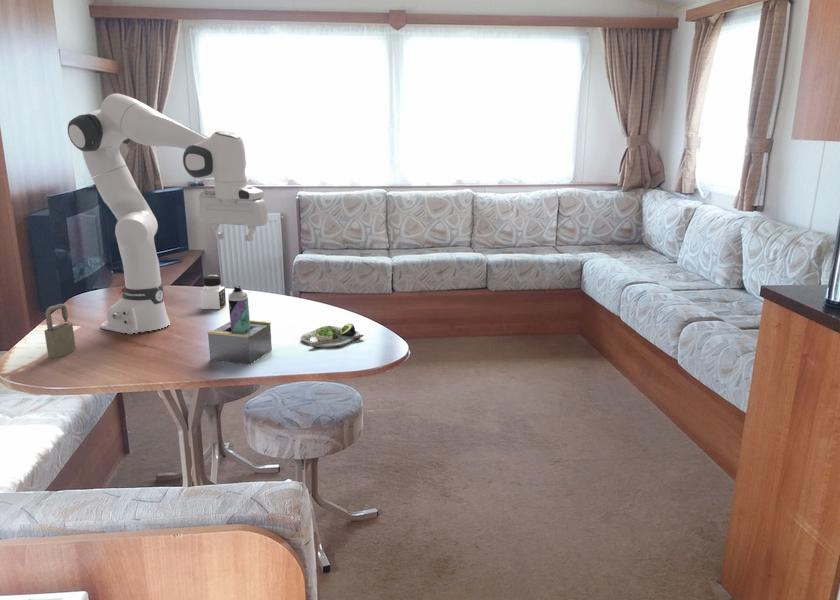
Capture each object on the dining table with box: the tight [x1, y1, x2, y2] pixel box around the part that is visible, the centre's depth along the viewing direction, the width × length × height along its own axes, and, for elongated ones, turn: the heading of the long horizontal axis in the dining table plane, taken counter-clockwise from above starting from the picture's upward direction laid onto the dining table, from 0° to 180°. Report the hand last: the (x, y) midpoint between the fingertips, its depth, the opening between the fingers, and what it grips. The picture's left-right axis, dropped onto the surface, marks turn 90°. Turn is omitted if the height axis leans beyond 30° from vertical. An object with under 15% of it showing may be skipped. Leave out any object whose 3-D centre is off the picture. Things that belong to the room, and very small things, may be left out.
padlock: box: [44, 303, 77, 359], centre depth 198 cm, size 4×8×15 cm, turn 163°
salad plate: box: [300, 323, 365, 348], centre depth 211 cm, size 19×18×5 cm
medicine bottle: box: [199, 274, 227, 311], centre depth 247 cm, size 7×7×12 cm
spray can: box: [227, 285, 251, 333], centre depth 195 cm, size 6×6×20 cm
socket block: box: [206, 319, 273, 365], centre depth 198 cm, size 13×13×9 cm
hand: (234, 240), depth 190 cm, fingers open, 8 cm apart
